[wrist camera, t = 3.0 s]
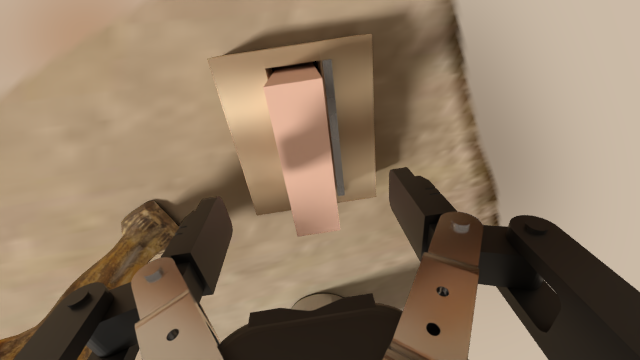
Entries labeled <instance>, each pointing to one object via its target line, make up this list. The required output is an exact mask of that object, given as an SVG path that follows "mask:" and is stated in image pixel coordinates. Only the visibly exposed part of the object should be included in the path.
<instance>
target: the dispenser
mask: <svg viewBox="0 0 640 360" xmlns="http://www.w3.org/2000/svg"><path fill="white" fill-rule="evenodd" d="M207 60H208V63H209V66H210V70H211V73H212V76H213V79H214V82H215V85H216V88H217V92H218V95H219V98H220V101H221V104H222V107H223V110H224V114H225V117H226V120H227V123H228V126H229V129H230V132H231V136H232V139H233V142H234V145H235V148H236V151H237V154H238V158H239V161H240V164H241V167H242V170H243V173H244V176H245V180H246V183H247V186H248V189H249V192H250V195H251V198H252V202H253V205H254V208H255V211H256V214H257V215H262V214H268V213H275V212H281V211H288V210H291V205H290V201H289V197H288V192H287V188H286V184H285V179H284V175H283V171H282V166H281V162H280V158H279V153H278V149H277V145H276V140H275V136H274V132H273V127H272V123H271V119H270V114H269V110H268V106H267V101H266V97H265V93H264V88H263V87H264V85H265V84H266V82H267V81H268V79H269V78H270V77H271V75H272V74H273V73H272V69H271V68H272V67H279V66H285V65H292V64H298V63H305V62H312V61H317V66H318V72H319V74H320V76H321V77H322V81H323V89H324V98H325V106H326V114H327V123H328V131H329V140H330V148H331V156H332V165H333V173H334V182H335V190H336V198H337V203H340V202H346V201H353V200H359V199H365V198H372V197H376V171H375V132H374V94H373V56H372V34H362V35H354V36H347V37H340V38H334V39H327V40H321V41H314V42H307V43H301V44H294V45H288V46H281V47H274V48H268V49H261V50H254V51H248V52H241V53H235V54H228V55H222V56H217V57H213V58H208V59H207Z"/></svg>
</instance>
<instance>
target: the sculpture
mask: <svg viewBox="0 0 640 360" xmlns="http://www.w3.org/2000/svg"><path fill="white" fill-rule="evenodd" d="M121 225H122V234H123V237H122V238H121V239H120V240H119V242H118V243H117V244H116V245H115V247H114V248H113V249H112V250H111V251H110V252H109V253H108V254H107V255H105V256H104V257H103V258H102V259H100V260H99V261H98V262H97V263H95V264H94V265H93V266H92V267H91V268H89V269H88V270H87V271H86V272H84V273H83V274H82V275H81V276H80V277H79V278H78V279H77V280H76V281H75V282H73V284H72V285H71V286H70V287H69V288H68V289H67V290H66V291H65V293H64V294H63V295H62V296H61V297H60V299H59V300H58V301H57V303H56V304H55V306H54V307H53V308H52V310H51V311H50V312H49V313H48V315H47V316H46V317H45V318H44V319H43V320H42V321H41V322H40V323H39V324H38V325H37V326H35V327H33V328H31V329H29V330H27V331H25V332H23V333H21V334H19V335H16V336H12V337H9V338H5V339H1V340H0V360H13V359H14V358H15V357H16V355H17V354H18V353H19V352H20V351H21V349H22V348H23V347H24V346H25V344H26V343H27V342H28V341H29V340H30V338H31V337H32V336H33V335H34V333H35V332H36V331H37V330H38V329H39V327H40V326H41V325H42V324H43V322H44V321H45V320H46V319H47V318H48V316H49V315H50V314H51V313H52V312H53V310H54V309H55V308H56V307H57V305H58V304H59V303H60V302H61V301H62V300H63V299H64V298H65V297H67V296H68V295H69V294H71V293H72V292H73V291H75V290H77V289H78V288H80V287H82V286H85V285H87V284H90V283H95V282H100V283H103V284H104V285H105V286H106V287H107V288H108V290H111V289H114V288H116V287H119V286H121V285H124V284H127V283H129V282H131V280H132V278H133V276H134V275H135V274H136V272H137V271H138V270H139V269H140V268H142V267H143V266H144V265H146V264H147V263H148V262H149V261H150V260H151V259H152V258H153V257H154V256H155V255H156V254H161V253H164V251H165V249H166V248H167V246H168V244H169V243H170V241H171V239H172V238H173V236H175V233H176V231H177V229H179V226H178V225H176V223H175V222H174V221H173V220H172V219H171V218H170V217H169V216H168V215H167V214H166V213H165V212H164V211H163V210H162V209H161V208H160V207H159V206H158V205H157V203H156V202H155V201H154V200H153V201H148V202H146V203H144V204H143V205H141V206H140V207H138V208H137V209H135V210H134V211H132V212H131V213H130V214H128V215H127V216H126V217H125V218H124V219H123V221H122V222H121ZM91 352H92V351H91V350H90V349H89V348H88V347H87V346H85V347H84V349H83V351H82V352H81V354H80V355H79V357H78V359H77V360H87V359H88V357H89V356H90V354H91Z"/></svg>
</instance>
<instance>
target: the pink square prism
mask: <svg viewBox="0 0 640 360" xmlns="http://www.w3.org/2000/svg"><path fill="white" fill-rule="evenodd" d="M263 88H264V93H265V97H266V101H267V106H268V110H269V114H270V119H271V123H272V127H273V132H274V136H275V140H276V145H277V149H278V153H279V158H280V162H281V166H282V171H283V175H284V179H285V184H286V188H287V192H288V197H289V201H290V205H291V210H292V214H293V218H294V223H295V227H296V231H297V236H305V235H311V234H318V233H324V232H330V231H337V230H340V224H339V215H338V207H337V198H336V190H335V182H334V173H333V165H332V156H331V148H330V140H329V131H328V123H327V114H326V106H325V98H324V89H323V81H322V77H321V76H320V74H319V72H318V71H317V69H316V68H315V66H314V65H313V63H306V64H300V65H293V66H286V67H280V68H276V69H275V71H274V72H273V74H272V75H271V77H270V78H269V79H268V81H267V82H266V84H265V85H264V87H263Z"/></svg>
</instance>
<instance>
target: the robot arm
mask: <svg viewBox="0 0 640 360" xmlns="http://www.w3.org/2000/svg"><path fill="white" fill-rule="evenodd" d="M389 201H390V206H391V209H392V211H393V213H394V214H395V216H396V218H397V220H398V222H399V224H400V225H401V227H402V229H403V231H404V233H405V235H406V236H407V238H408V240H409V242H410V244H411V246H412V247H413V249H414V251H415V253H416V255H417V257H418V258H419V260H420V265H419V268H418V271H417V273H416V276H415V279H414V282H413V284H412V287H411V290H410V293H409V295H408V298H407V301H406V304H405V307H404V309H403V311H401V310H399V309H397V308H395V307H392V306H389V305H384V304H379V303H375V301H374V298H373V294H372V293H371V294H365V295H359V296H352V297H346V298H342V297H340V296H337V295H333V294H316V295H311V296H308V297H305V298H303V299H301V300H300V301H298V302H297V303H296V304H295V305H294V306H293V307H292V308H291V309H285V308H277V309H271V310H265V311H259V312H252V313H250V317H249V323H248V324H247V325H245V326H243V327H241V328H239V329H237V330H236V331H234V332H233V333H232V334H230V335H229V336H228V337H227V338H225V339H224V340H223V341H222V342H221V341H220V339H219V338H218V336H217V334H216V332H215V330H214V328H213V326H212V325H211V323H210V321H209V319H208V317H207V315H206V313H205V311H204V310H203V308H202V306H201V304H200V300H201V297H202V296H205V295H212V294H214V291H215V287H216V284H217V281H218V278H219V275H220V272H221V268H222V265H223V262H224V259H225V256H226V253H227V249H228V246H229V243H230V240H231V237H232V232H233V228H232V223H231V220H230V217H229V215H228V212H227V210H226V207H225V205H224V202H223V200H222V198H221V197H219V196H218V197H212V198H206V199H202V200H201V202H200V204H199V205H198V207H197V209H196V211H192V212H191V213H190V214H189V215H188V216H187V217H185V218H184V220H183V221H182V223H181V225H180V226H179V229H177V231H176V233H175V236H173V238H172V239H171V241H170V243H169V244H168V246H167V248H166V249H165V251H164V253H163V254H162V256H161V258H159V259H155V260H153V261H151V262H149V263H147V264H146V265H144V266H143V267H142V268H140V269H139V270H138V271H137V272H136V274H135V275H134V276H133V278H132V280H131V282H129V283H127V284H124V285H121V286H119V287H116V288H114V289H111V290H108V288H107V287H106V286H105V285H104V284H103V283H100V282H95V283H90V284H87V285H85V286H82V287H80V288H78V289H77V290H75V291H73V292H72V293H71V294H69V295H68V296H67V297H65V298H64V299H63V300H62V301H61V302H60V303H59V304H58V305H57V307H56V308H55V309H54V310H53V312H52V313H51V314H50V315H49V316H48V318H47V319H46V320H45V321H44V322H43V324H42V325H41V326H40V327H39V329H38V330H37V331H36V332H35V333H34V335H33V336H32V337H31V338H30V340H29V341H28V342H27V343H26V344H25V346H24V347H23V348H22V349H21V351H20V352H19V353H18V354H17V355H16V357H15V358H14V359H13V360H77V359H78V357H79V355H80V354H81V352H82V351H83V349H84V347H85V346H87V347H88V348H89V349H90V350H91V351H92V352H91V354H90V356H89V357H88V359H87V360H135V358H136V355H137V353H138V351H139V349H140V352H141V357H142V360H468V353H469V345H470V337H471V330H472V322H473V315H474V307H475V300H476V293H477V285H478V284H484V285H492V286H496V287H497V288H498V289H499V291H500V292H501V294H502V295H503V297H504V298H505V299H506V301H507V302H508V304H509V305H510V306H511V308H512V309H513V311H514V312H515V313H516V315H517V316H518V318H519V319H520V320H521V322H522V323H523V325H524V326H525V327H526V329H527V330H528V332H529V333H530V334H531V336H532V337H533V338H534V340H535V341H536V342H537V344H538V346H539V347H540V348H541V350H542V351H543V353H544V354H545V355H546V357H547V358H548V360H640V292H639V291H638V290H636V289H635V288H634V287H633V286H631V285H630V284H629V283H628V282H626V281H625V280H624V279H623V278H621V277H620V276H619V275H618V274H616V273H615V272H614V271H613V270H611V269H610V268H609V267H608V266H606V265H605V264H604V263H603V262H601V261H600V260H599V259H598V258H596V257H595V256H594V255H593V254H591V253H590V252H589V251H588V250H586V249H585V248H584V247H583V246H581V245H580V244H579V243H578V242H576V241H575V240H574V239H573V238H571V237H570V236H569V235H568V234H566V233H565V232H564V231H563V230H562V229H560V228H559V227H558V226H556V225H555V224H553V223H552V222H549V221H548V220H545V219H543V218H539V217H535V216H528V215H521V216H516V217H514V218H512V219H511V220H510V223H509V226H508V227H502V226H488V225H483V224H482V223H481V222H480V220H478V219H477V218H476V217H474V216H472V215H470V214H467V213H464V212H457V211H456V209H455V208H454V207H453V206H452V205H451V204H450V203H449V202H448V201H447V200H446V198H445V197H444V196H443V195H442V194H440V192H439V191H438V190H437V189H435V186H434V185H433V184H432V183H431V182H430V181H429V180H427V179H425V178H423V177H421V176H414V175H413V174H412V172H411V171H410V170H409V169H408V168H407V167H404V168H398V169H392V170H390V172H389ZM544 280H545V281H546V282H547V283H548V284H549V285H550V286H551V287H550V286H549V285H548V284H547V283H546V282H545V281H544ZM552 289H553V290H554V291H555V292H556V293H557V294H556V293H555V292H554V291H553V290H552Z"/></svg>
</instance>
